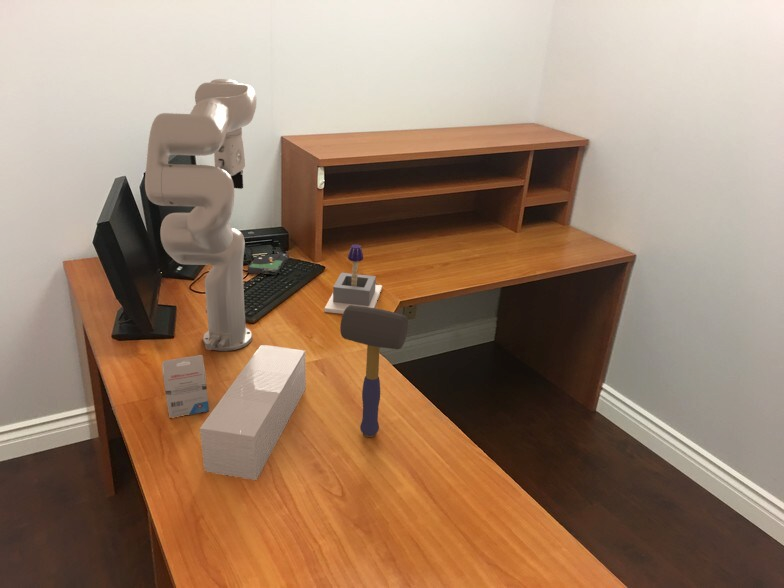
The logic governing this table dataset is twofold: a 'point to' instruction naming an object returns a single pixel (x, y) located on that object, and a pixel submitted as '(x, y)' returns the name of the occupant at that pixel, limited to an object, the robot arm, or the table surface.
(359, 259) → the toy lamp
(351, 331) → the rubber mallet
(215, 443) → the long gray block
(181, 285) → the table surface
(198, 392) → the ink box
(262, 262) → the disk drive
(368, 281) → the dock
